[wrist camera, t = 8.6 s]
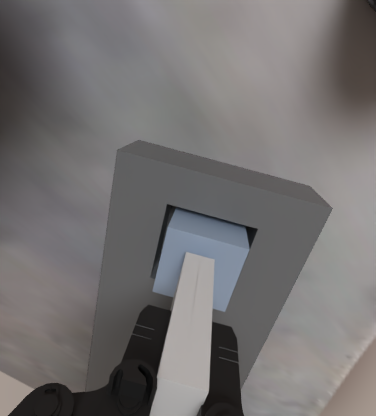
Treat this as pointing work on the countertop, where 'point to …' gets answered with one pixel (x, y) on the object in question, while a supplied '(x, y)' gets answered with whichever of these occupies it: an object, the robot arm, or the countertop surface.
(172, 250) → the key blue
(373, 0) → the pill bottle
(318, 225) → the frame
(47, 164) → the countertop surface
